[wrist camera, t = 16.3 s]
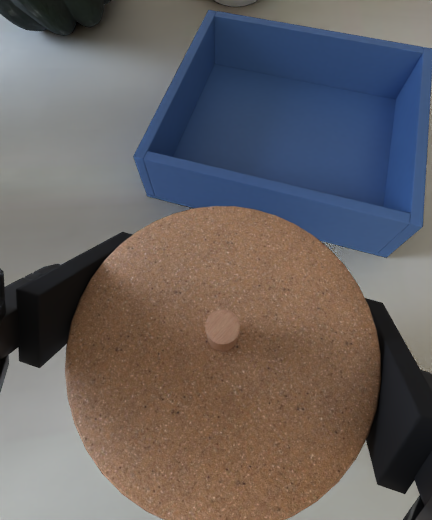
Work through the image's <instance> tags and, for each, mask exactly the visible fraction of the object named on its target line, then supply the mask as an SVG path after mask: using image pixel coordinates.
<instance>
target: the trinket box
mask: <svg viewBox="0 0 432 520" xmlns="http://www.w3.org/2000/svg"><path fill="white" fill-rule="evenodd" d="M65 375H66V386H67V396H68V401H69V405H70V408H71V412H72V416H73V420H74V424H75V426H76V428H77V430H78V433H79V435H80V437H81V439H82V441H83V444H84V446H85V448H86V450H87V452H88V453H89V455H90V456H91V458H92V459H93V460H94V462H95V463H96V465H97V466H98V468H99V469H100V471H101V472H102V474H103V475H104V476H105V477H106V478H107V479H108V480H109V481H110V482H111V483H112V484H113V485H114V486H115V487H116V488H117V489H118V490H119V491H120V492H121V493H122V494H123V495H124V496H126V497H127V498H128V499H130V500H131V501H133V502H134V503H135V504H137V505H138V506H140V507H141V508H143V509H144V510H145V511H147V512H149V513H151V514H153V515H156V516H158V517H160V518H162V519H164V520H285V519H287V518H290V517H292V516H294V515H295V514H297V513H299V512H300V511H302V510H304V509H305V508H307V507H309V506H310V505H312V504H313V503H315V502H317V501H318V500H319V499H320V498H321V497H322V496H323V495H324V494H326V493H327V492H328V491H329V490H330V489H331V488H332V487H333V486H334V485H336V484H337V483H338V482H339V480H340V479H341V478H342V477H343V475H344V474H345V473H346V471H347V470H348V469H349V467H350V466H351V465H352V463H353V462H354V461H355V460H356V458H357V456H358V454H359V452H360V450H361V448H362V446H363V444H364V442H365V440H366V438H367V437H368V435H369V432H370V429H371V426H372V422H373V419H374V416H375V413H376V410H377V406H378V399H379V392H380V384H381V354H380V348H379V342H378V336H377V330H376V327H375V324H374V321H373V318H372V315H371V312H370V309H369V306H368V304H367V302H366V300H365V298H364V296H363V294H362V292H361V290H360V288H359V286H358V284H357V283H356V281H355V280H354V278H353V277H352V275H351V274H350V272H349V271H348V269H347V268H346V267H345V265H344V264H343V263H342V262H341V261H340V260H339V259H338V258H337V257H336V255H335V254H334V253H333V252H332V251H331V250H330V249H329V248H328V247H326V246H325V245H324V244H323V243H322V242H320V241H319V240H318V239H317V238H316V237H314V236H313V235H312V234H310V233H308V232H307V231H305V230H304V229H302V228H300V227H299V226H297V225H295V224H294V223H291V222H289V221H287V220H285V219H282V218H280V217H278V216H276V215H273V214H269V213H266V212H262V211H259V210H255V209H249V208H243V207H236V206H211V207H202V208H194V209H190V210H186V211H182V212H178V213H174V214H172V215H169V216H167V217H164V218H162V219H159V220H157V221H155V222H153V223H151V224H150V225H148V226H146V227H144V228H142V229H141V230H139V231H137V232H136V233H135V234H133V235H132V236H131V237H129V238H128V239H127V240H125V241H124V242H123V243H122V244H120V245H119V246H118V247H117V248H116V249H115V250H114V251H113V252H112V253H111V254H110V255H109V256H108V257H107V258H106V259H105V260H104V262H103V263H102V264H101V266H100V267H99V268H98V270H97V271H96V273H95V274H94V275H93V277H92V278H91V280H90V281H89V283H88V285H87V287H86V289H85V291H84V292H83V294H82V296H81V298H80V300H79V303H78V306H77V308H76V311H75V314H74V316H73V319H72V322H71V327H70V332H69V336H68V341H67V347H66V364H65Z"/></svg>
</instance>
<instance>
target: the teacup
mask: <svg viewBox="0 0 432 520" xmlns="http://www.w3.org/2000/svg"><path fill="white" fill-rule="evenodd" d="M215 1H216V2H218V3H220V4H223V5H227V6H233V7H237V6H245V5H249V4H252V3H254V2H255V1H257V0H215Z"/></svg>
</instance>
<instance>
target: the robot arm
mask: <svg viewBox="0 0 432 520" xmlns="http://www.w3.org/2000/svg"><path fill="white" fill-rule="evenodd" d="M131 236H132V234H128V233H125V232H121V233H119V234H118V235H116V236H114V237H112V238H110V239H108V240H106V241H104V242H103V243H101V244H99V245H97V246H95V247H93V248H91V249H90V250H88V251H86V252H84V253H82V254H80V255H78V256H76V257H75V258H73V259H71V260H69V261H67V262H65V263H63V264H62V265H60V264H54V265H50V266H46V267H43V268H41V269H39V270H37V271H35V272H34V273H31V274H29V275H27V276H25V278H21V279H19V280H17V281H15V282H13V283H11V284H9V285H8V286H6V287H4V273H3V271H2V270H1V269H0V392H1V389H2V385H3V382H4V379H5V375H6V372H7V369H8V365H9V356H8V354H10V353H11V352H12V351H14V350H15V349H16V348H18V347H19V361H20V362H23V363H26V364H29V365H32V366H35V367H38V368H40V367H41V366H42V365H44V364H45V363H46V362H47V361H48V360H49V359H50V358H51V357H52V356H54V355H55V354H56V353H57V352H58V351H59V350H60V349H61V348H62V347H64V346H65V345H66V344H67V341H68V336H69V332H70V327H71V322H72V319H73V316H74V314H75V311H76V308H77V306H78V303H79V300H80V298H81V296H82V294H83V292H84V291H85V289H86V287H87V285H88V283H89V281H90V280H91V278H92V277H93V275H94V274H95V273H96V271H97V270H98V268H99V267H100V266H101V264H102V263H103V262H104V260H105V259H106V258H107V257H108V256H109V255H110V254H111V253H112V252H113V251H114V250H115V249H116V248H117V247H118V246H119V245H120V244H122V243H123V242H124V241H125V240H127V239H128V238H129V237H131ZM365 300H366V302H367V304H368V306H369V309H370V312H371V315H372V318H373V321H374V324H375V327H376V330H377V336H378V342H379V348H380V354H381V384H380V392H379V399H378V406H377V410H376V413H375V416H374V419H373V422H372V426H371V429H370V432H369V435H368V437H367V438H366V441H367V445H368V449H369V453H370V457H371V461H372V465H373V469H374V473H375V477H376V481H377V485H380V486H383V487H386V488H389V489H392V490H395V491H398V492H401V493H403V494H405V493H406V492H407V490H408V489H409V487H410V486H411V484H412V483H413V481H414V480H415V482H416V485H417V488H418V491H419V493H420V496H419V497H418V499H417V500H416V501H415V503H414V504H413V506H412V507H411V509H410V510H409V511H408V513H407V514H406V516H405V517H404V519H403V520H432V374H431V373H429V372H426V371H422V370H420V369H419V367H418V365H417V363H416V361H415V360H414V358H413V356H412V354H411V353H410V351H409V349H408V347H407V345H406V344H405V342H404V340H403V338H402V337H401V335H400V333H399V331H398V330H397V328H396V326H395V324H394V322H393V321H392V319H391V317H390V315H389V314H388V312H387V310H386V308H385V306H384V305H383V303H381V302H377V301H373V300H370V299H366V298H365Z"/></svg>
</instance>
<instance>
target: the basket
mask: <svg viewBox="0 0 432 520" xmlns="http://www.w3.org/2000/svg"><path fill="white" fill-rule="evenodd" d="M431 79H432V49H431V48H426V47H424V48H423V47H420V46H415V45H409V44H403V43H397V42H392V41H386V40H380V39H374V38H369V37H363V36H357V35H351V34H346V33H340V32H334V31H328V30H323V29H317V28H311V27H306V26H300V25H294V24H288V23H283V22H277V21H271V20H265V19H260V18H254V17H248V16H242V15H237V14H231V13H225V12H220V11H217V12H216V11H212V10H208V12H207V14H206V16H205V18H204V20H203V22H202V24H201V26H200V28H199V29H198V31H197V33H196V35H195V37H194V39H193V41H192V43H191V45H190V47H189V49H188V51H187V53H186V55H185V57H184V59H183V61H182V63H181V65H180V66H179V68H178V70H177V72H176V74H175V76H174V78H173V80H172V82H171V84H170V86H169V88H168V90H167V92H166V94H165V96H164V98H163V100H162V102H161V103H160V105H159V107H158V109H157V111H156V113H155V115H154V117H153V119H152V121H151V123H150V125H149V127H148V129H147V131H146V133H145V135H144V137H143V139H142V140H141V142H140V144H139V146H138V148H137V150H136V152H135V154H134V156H133V157H134V160H135V163H136V166H137V169H138V171H139V174H140V177H141V180H142V182H143V185H144V188H145V191H146V193H147V194H146V195H147V196H149V197H152V198H156V199H160V200H164V201H168V202H172V203H176V204H180V205H184V206H187V207H191V208H202V207H211V206H236V207H243V208H249V209H255V210H259V211H262V212H266V213H269V214H273V215H276V216H278V217H280V218H282V219H285V220H287V221H289V222H291V223H294V224H295V225H297V226H299V227H300V228H302V229H304V230H305V231H307V232H308V233H310V234H312V235H313V236H314V237H316V238H317V239H318V240H320V241H324V242H327V243H331V244H335V245H339V246H343V247H347V248H351V249H355V250H359V251H362V252H366V253H370V254H374V255H378V256H382V257H386V258H387V257H388V256H389V255H390V254H391V253H392V252H394V251H395V250H396V249H397V248H398V247H399V246H401V245H402V244H403V243H404V242H405V241H407V240H408V239H409V238H410V237H411V236H412V235H414V234H415V233H416V232H417V231H418V230H419V229H421V228H422V227H423V214H424V198H425V181H426V164H427V147H428V130H429V113H430V96H431Z"/></svg>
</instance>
